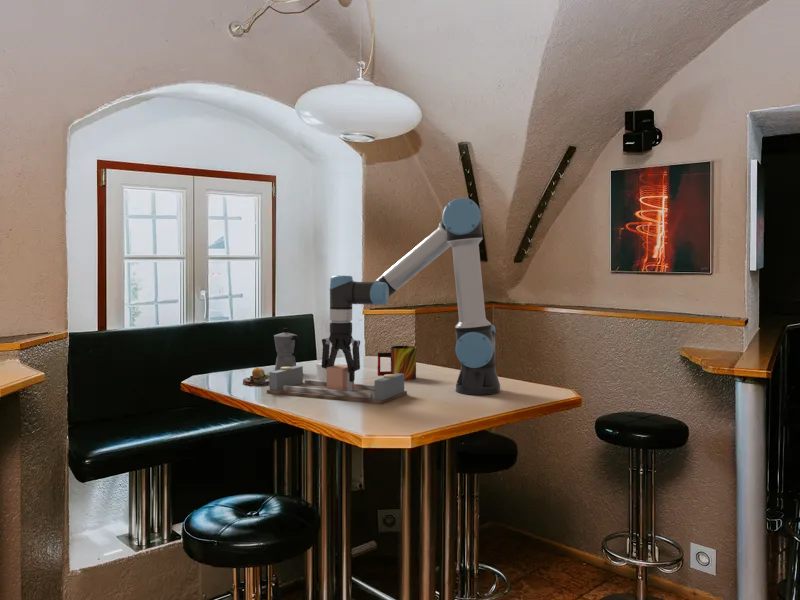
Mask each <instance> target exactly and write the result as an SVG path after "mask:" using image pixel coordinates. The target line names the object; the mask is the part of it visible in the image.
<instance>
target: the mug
mask: <svg viewBox="0 0 800 600" xmlns="http://www.w3.org/2000/svg"><path fill="white" fill-rule="evenodd" d="M381 358H390V371H387V370H386V371H383V370H382V371H381ZM395 373H401V374H404V381H413V380H416V379H417V346H414V345H393V346H390V352H377V377H379V376H380V377H382V376H383V377H384V375H386V374H395Z"/></svg>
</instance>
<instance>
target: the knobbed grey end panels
mask: <svg viewBox="0 0 800 600" xmlns="http://www.w3.org/2000/svg"><path fill="white" fill-rule="evenodd" d="M303 369H304V367H303V366H301V365H296V366H293V367H281V370H277V371H275V370H272V371H270V372H268V373H269V374H268V376H269V385H268V386H269V389H270V390H280V389H284V386H294V385H298V384H301V383H303V382H304V378H303V377H304V374H303V371H304V370H303ZM374 385H375V400H385V399H387V398H390V397H392V396H395V395H397V394H400V393H402V392H404V391H405V380H404V374H401V373H395V374H386V375H384V376H383V377H382V378H379V379H375V380H374Z"/></svg>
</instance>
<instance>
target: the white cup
mask: <svg viewBox="0 0 800 600" xmlns="http://www.w3.org/2000/svg"><path fill="white" fill-rule="evenodd" d="M334 365H336V363H335V362H334ZM315 368H316V375H317V381H327V370H326V369H325V368H322V361H321V362H317V363H316V364H315Z"/></svg>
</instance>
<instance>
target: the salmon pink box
mask: <svg viewBox="0 0 800 600" xmlns="http://www.w3.org/2000/svg"><path fill="white" fill-rule="evenodd" d="M348 371H349V370H348V366H347V364H340V363H338V364H335V365H334V366H331V367H327V389H330V390H341V391H347V372H348ZM354 384H355V380H354V381H353V382H352V389H354Z"/></svg>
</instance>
